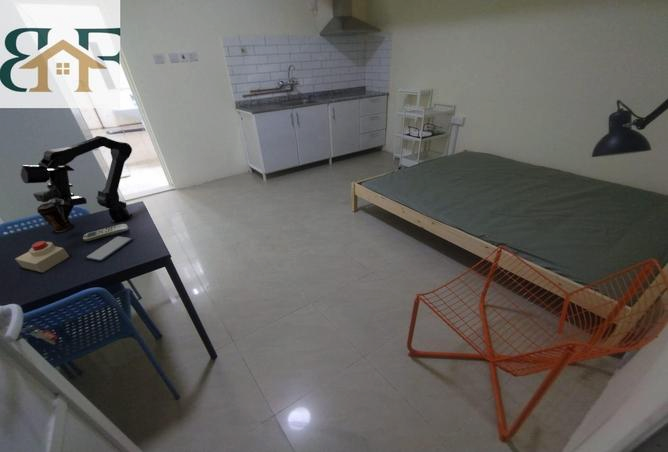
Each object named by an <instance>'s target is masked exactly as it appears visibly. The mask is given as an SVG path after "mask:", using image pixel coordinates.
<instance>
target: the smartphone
mask: <svg viewBox="0 0 668 452" xmlns="http://www.w3.org/2000/svg"><path fill="white" fill-rule="evenodd" d="M132 240H133V239H132V238H131V237H125V236H120V235H119V236H115V237H114V238H113V239H111V240H110V241H108V242H107V243H105V244H103V245H102V246H100V247H99V248H97V249H95V250H94V251H92V252H91V253H90V254H88V255H86V259H89V260H94V261H97V262H102V261H104V260H105V259H107V258H108V257H110V256H111V255H113V254H114V253H115V252H117V251H118V250H120V249H121V248H123V247H125V246H126V245H127V244H128V243H130V242H132Z"/></svg>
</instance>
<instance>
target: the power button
mask: <svg viewBox="0 0 668 452" xmlns="http://www.w3.org/2000/svg"><path fill="white" fill-rule="evenodd" d="M46 242H47V241H45V240H40V241H36V242H34V243H33V244H32V245H31V248H33V249H34V250H35V251H38V250H41V249H44V248H46V247H47V246H48V245H47V244H46Z"/></svg>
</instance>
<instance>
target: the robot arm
mask: <svg viewBox="0 0 668 452" xmlns="http://www.w3.org/2000/svg"><path fill="white" fill-rule="evenodd" d="M102 147H103V148H106V149H109V150H110V156H111V162H110V163H111V164H110V167H109V171H108V174H107V178H106V183H105V187H104V188H103V190H98V191H97V196H96V198H95V199H96V201H97V204H98V205H99V206H101V207H104V208H105V209H108V214H109V216H110V218H111V220H112V223H118V222H123V221H124V222H125V221H128V220H129V218H130V217H131V215H132V213H131V212H129V211H128V209H127V202H124V201H121V200H120V194H119V191H118V190H119V187H120V182H121V179H122V174H123V170H124V167H125V163H126V161H127V160H129V158H130V157H131V154H132V152H133V147H132V146H131V145H130V143H128V142H124V141H117V140H114V139H111V138H108V137H106V136H102V135H96V136H95V137H92V138H90V139H87V140H83V141H81V142H79V143H75V144H72V145H70V146H66V147H60V148H53V149H47V150H45V151H44V152H43V155H42V156H43V157H42V159H41V160H40V161H39V162H38V163H37V165H29V164H28V165H27V164H22V165H21V169H20V178H21V180H22V181H23V183H24V184H42V183H43V184H44V183H47V182H48V181H49V183H47V186H46V187H47V188H44V189H40V190H38V191H35V192H33V193H32V195H33V197H34V198H35V199H36V201H37V202H41V203H51V204H53V205H55V206H56V207H57V208H58V210H59V211H60V213H61V214H62V216H63V218H68V219H69V217H70V214H71V213H72V210H73V209H74V207H75V206H79V205H86V204H88V202H87V198H86V197H84V196H78V195H76V196H75V194H74V193H72V190H71V188H72V187H74V186H73V185H74V184H73V183H70V176H69V172H74V171H75V169H74V168H72V167H71V166H70V165H69V164H70V163H71V162H73V161H74V160H75V159H76V158H77V157H79V156H81V155H84V154H87V153H89V152H92V151H94V150H97V149H99V148H102Z"/></svg>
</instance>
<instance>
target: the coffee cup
mask: <svg viewBox="0 0 668 452" xmlns="http://www.w3.org/2000/svg"><path fill="white" fill-rule="evenodd" d="M36 209H37V211H36V212H37V213H38V214H39V215H40V216H41V218H43V219H44V221H45V222H46V223H47V224H48V225H49V226H51V227H52V228H53V229H54V231H55V233H62V232H66V231H68V230H69V229H71V228H72V227H73V226H72V224H71V221H70V219H69V217H68V218H63V216H62V214H61V213H60V211H59V210H58V208H57V207H56V206H55V205H53V204H51V203H49V202H45V203H42V204H40V205H39V206H38V207H37V208H36Z"/></svg>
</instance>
